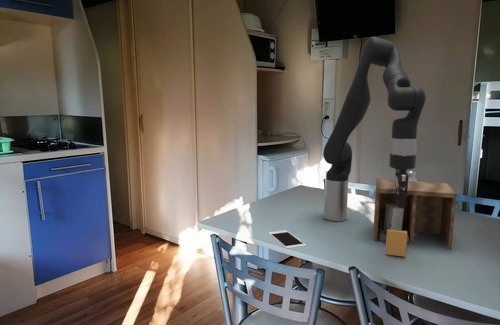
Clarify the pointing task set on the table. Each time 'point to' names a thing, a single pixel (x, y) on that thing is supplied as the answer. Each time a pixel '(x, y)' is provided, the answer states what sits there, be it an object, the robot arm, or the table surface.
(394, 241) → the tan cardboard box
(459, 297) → the table surface
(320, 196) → the table surface
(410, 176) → the plastic bottle
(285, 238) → the cell phone
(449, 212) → the cubby shelf
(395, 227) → the skincare box
